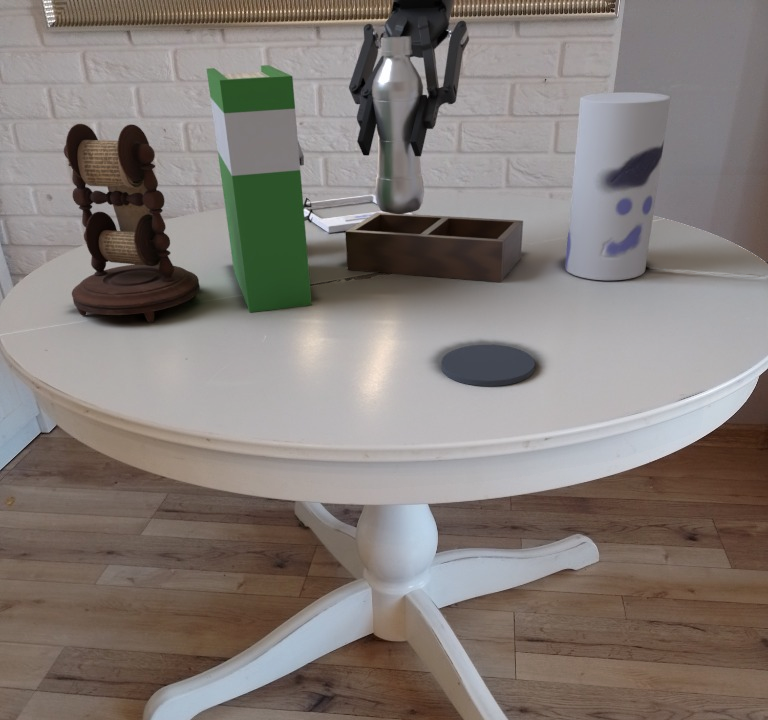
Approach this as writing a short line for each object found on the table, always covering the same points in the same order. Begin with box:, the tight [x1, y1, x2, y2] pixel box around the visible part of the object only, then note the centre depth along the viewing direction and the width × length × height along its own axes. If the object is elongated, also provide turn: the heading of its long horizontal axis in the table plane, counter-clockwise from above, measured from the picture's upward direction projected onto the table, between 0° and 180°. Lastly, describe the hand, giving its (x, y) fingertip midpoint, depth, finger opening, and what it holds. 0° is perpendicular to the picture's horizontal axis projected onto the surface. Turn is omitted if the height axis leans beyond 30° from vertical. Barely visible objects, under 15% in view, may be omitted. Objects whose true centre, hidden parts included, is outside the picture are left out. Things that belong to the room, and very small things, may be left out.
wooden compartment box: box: [344, 211, 524, 283], centre depth 106 cm, size 21×11×5 cm, turn 69°
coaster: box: [440, 344, 536, 387], centre depth 77 cm, size 9×9×1 cm
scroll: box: [63, 123, 201, 324], centre depth 91 cm, size 15×15×20 cm
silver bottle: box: [372, 37, 425, 214], centre depth 100 cm, size 6×7×20 cm
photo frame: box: [303, 194, 413, 234], centre depth 132 cm, size 15×1×18 cm
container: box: [564, 91, 671, 281], centre depth 97 cm, size 10×10×20 cm
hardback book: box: [206, 64, 313, 313], centre depth 94 cm, size 18×7×24 cm, turn 15°
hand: (389, 148), depth 98 cm, fingers closed on silver bottle, 6 cm apart
